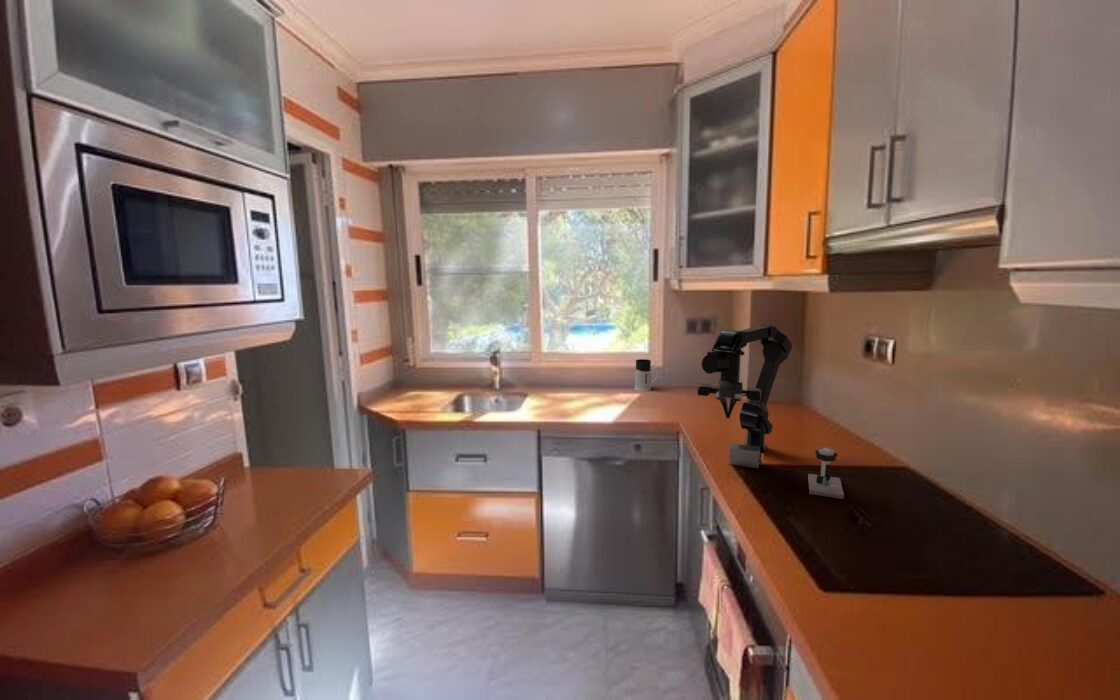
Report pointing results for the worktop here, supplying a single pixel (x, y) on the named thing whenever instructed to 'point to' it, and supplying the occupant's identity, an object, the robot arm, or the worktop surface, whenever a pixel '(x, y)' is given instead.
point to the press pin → (761, 458)
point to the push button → (825, 464)
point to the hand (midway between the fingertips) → (728, 418)
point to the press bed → (825, 487)
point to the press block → (744, 455)
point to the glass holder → (643, 375)
